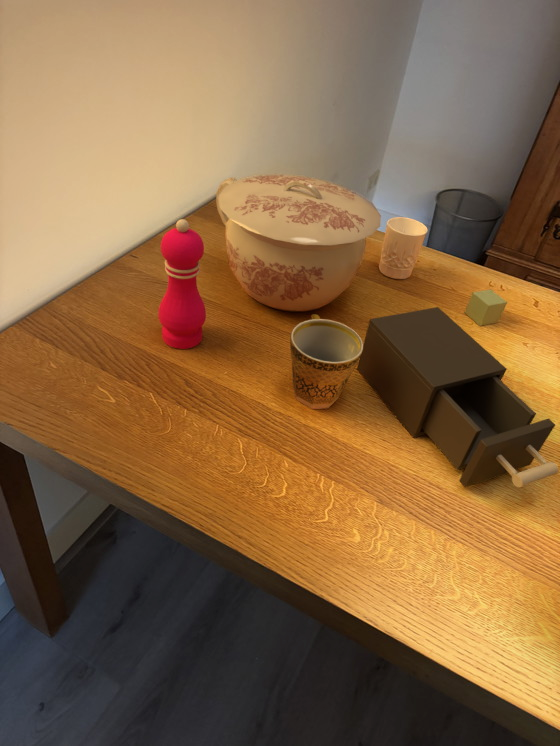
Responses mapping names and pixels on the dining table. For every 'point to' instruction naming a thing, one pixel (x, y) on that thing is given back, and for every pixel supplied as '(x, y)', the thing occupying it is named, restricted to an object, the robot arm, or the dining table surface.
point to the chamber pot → (294, 237)
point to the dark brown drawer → (488, 432)
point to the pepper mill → (182, 288)
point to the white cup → (401, 247)
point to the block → (485, 307)
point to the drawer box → (420, 362)
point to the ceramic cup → (322, 360)
